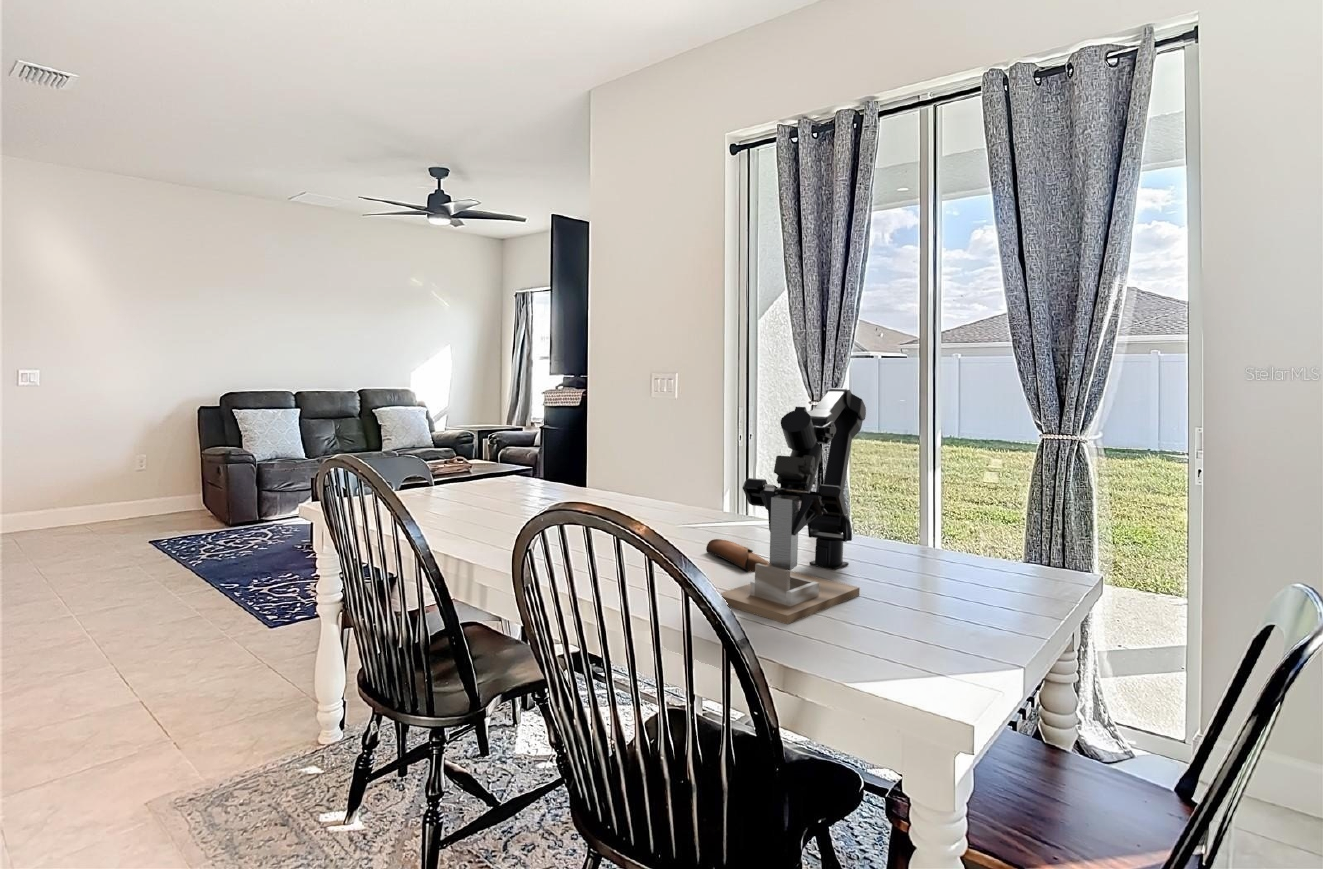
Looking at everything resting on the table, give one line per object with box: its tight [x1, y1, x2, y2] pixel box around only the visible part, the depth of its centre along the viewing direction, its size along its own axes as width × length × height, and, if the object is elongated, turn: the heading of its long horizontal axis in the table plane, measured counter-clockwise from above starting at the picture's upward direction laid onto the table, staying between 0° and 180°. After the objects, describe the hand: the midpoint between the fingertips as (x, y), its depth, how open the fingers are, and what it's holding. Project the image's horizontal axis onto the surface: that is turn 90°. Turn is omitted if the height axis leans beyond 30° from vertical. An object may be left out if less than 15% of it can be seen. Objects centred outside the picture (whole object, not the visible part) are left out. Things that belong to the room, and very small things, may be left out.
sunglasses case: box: [705, 538, 770, 573], centre depth 164 cm, size 18×7×7 cm
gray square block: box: [769, 495, 800, 571], centre depth 133 cm, size 4×4×13 cm
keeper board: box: [720, 563, 861, 625], centre depth 136 cm, size 24×16×8 cm, turn 135°
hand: (781, 532), depth 131 cm, fingers closed on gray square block, 4 cm apart
